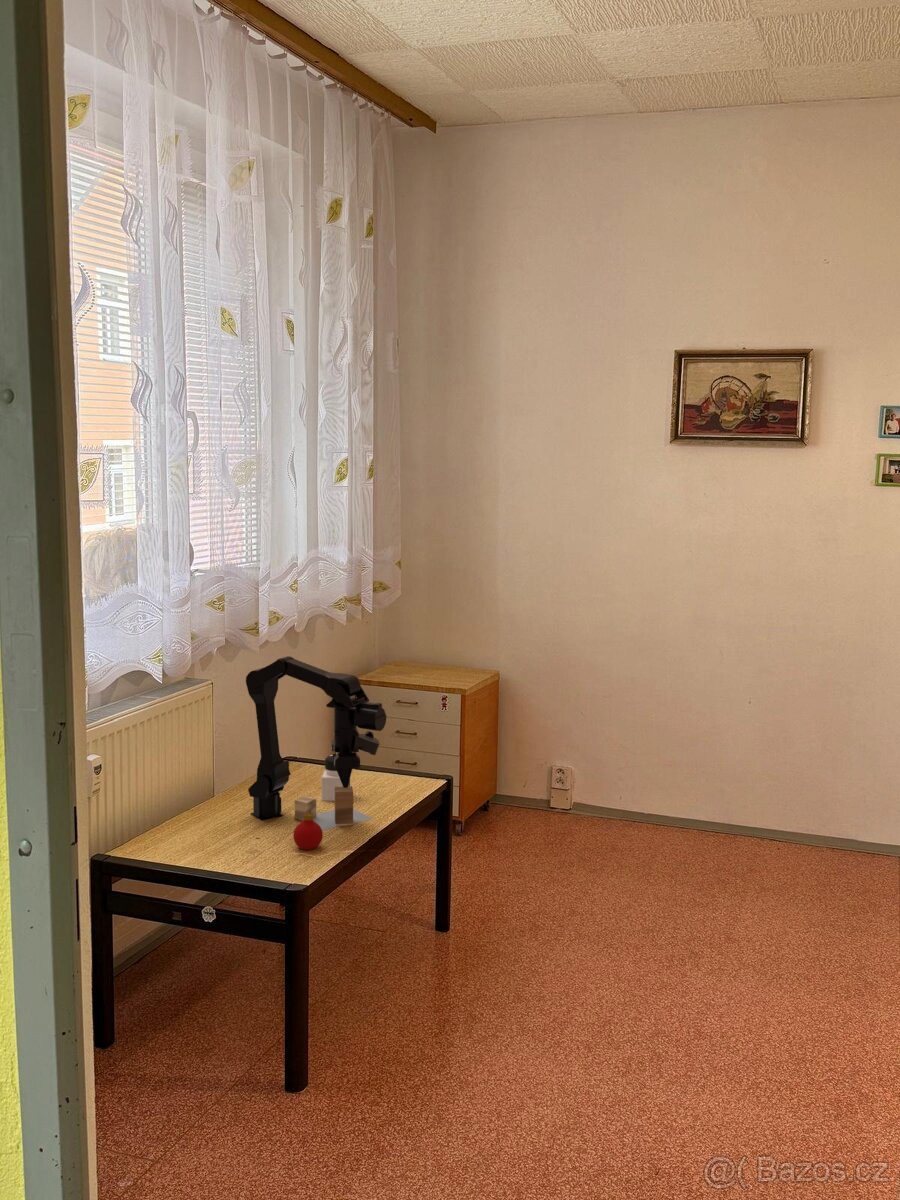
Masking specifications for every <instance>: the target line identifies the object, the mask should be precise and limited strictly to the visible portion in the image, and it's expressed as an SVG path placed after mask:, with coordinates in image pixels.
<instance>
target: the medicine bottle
mask: <svg viewBox="0 0 900 1200" xmlns="http://www.w3.org/2000/svg"><path fill="white" fill-rule="evenodd" d="M341 786H343V785H342V783H341V780H340V778H339V775H338V773H337V770H336V768H335V765H334V759H333V754H332V755H331V754H330V755H328V756H325V758H324V771H323V773H322V775H321V801H322V802H335V787H341ZM348 786H351V779H350V780H349V785H348Z"/></svg>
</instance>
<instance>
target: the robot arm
mask: <svg viewBox="0 0 900 1200" xmlns="http://www.w3.org/2000/svg"><path fill="white" fill-rule="evenodd" d="M285 676H287V677H290V678H293V679H296V680H298V681H300V682H303V683H306V684H309V685H311V686H314V687H316V688H319V689H321V690H322V691H323V692H324V693H325V694H326V695H327V696H328V697H330V698H332V699H331V700H330V701H329V702H328V703H326V707H327V708H332V709H333V739H332V741H331V742H330V745H331V751H332V752H334V753H332V755H333V759H334V765H335V768H336V770H337V773H338V775H339V778H340V780H341V783H342V785H343V788H348V785H349V780H350V781H351V775H352V772H353V769H359V768H361V759H360V755H359V754H358V753H359V752H360V751H362V752H365V753H368V754H370V755H372V756H376V755H377V753H378V749H379V746H380V745H381V744H380V741H379V740H380V739H378V738H376V737H375V735H374V732H373V731H375V732H381V731H382V730H384V728H385V725H386V724H387V723H386V722H387V714H386V711H385V709H384V708H383V703H382V702H370V699H369V698H368V696H367V694H366V692H365V691H364V689H363V688H362V686H361V682H360V680H359V678H358V677H357V676H355V675H354V674H348V673H343V672H330V671H327V670H324V669H322V668H318V667H317V666H314V665H311V664H309V663H307V662H303V661H301V660H298V659H295V658H294V657H292V656H289V655H287V656H284V657H281V658H278V659H276V660H275V661H273V662H272V663H270V664H268V665H267V666H265V667H264V666H263V667H261V668H257V669H254V670H251V671H250V672H248V674H247V675H246V677H245V684H246V688H247V692H248V695H249V697H250V698H251V700H252V701H253V702H254V706H255V713H256V714H255V715H256V723H257V732H258V741H259V752H260V760H259V762H258V766H257V768H256V780H255V782H253V784H252V785H250V786H249V787H248V789H247V790H248V794H249V796H250V797H251V798H253V800H252V801H253V803H252V804H253V808H252V809H253V812H250V815H251V816H252V817H254V818H256V819H258V820H260V821H267V820H271V819H276V818H280V817H284V814H283V813H282V797H281V792H282V791H284V788H285V785H287V784H288V782H289V779H290V776H291V775H292V774H291V771H290V762H289V760H287V759H286V760H284V759H283V757H282V756H281V753H280V745H279V735H278V726H277V724H278V723H277V717H276V708H275V707H276V706H275V699H276V696H277V692H278V691H279V690H278V689H279V680H281V679H282V678H285ZM358 728H359V729H363V730H367V731H365V732H364V733H359V731H358ZM374 737H375V738H374Z"/></svg>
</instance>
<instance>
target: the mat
mask: <svg viewBox="0 0 900 1200" xmlns="http://www.w3.org/2000/svg"><path fill="white" fill-rule="evenodd" d="M373 819H374V817H370V816H369V815H367V814H365V813H362V812H360V811H358V810H356V809H354V808H353V825H354V824H357V823H363V822H366V821H370V820H373ZM313 821H314V822H316V823H317V824H318V825H319V826H320V827H321V829H322V832H324V831H325V832H326V831H328V830H332V829H336V828H340V827H342V826H336V825H335V809H332V810H327V811H323V812H318V813H316V817H315V818H313ZM300 822H303V820H300ZM345 826H346V825H344V826H343V827H345Z"/></svg>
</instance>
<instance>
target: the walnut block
mask: <svg viewBox="0 0 900 1200" xmlns="http://www.w3.org/2000/svg"><path fill="white" fill-rule="evenodd" d="M353 809H354V790H353V786H351V785H350V786H348V788H343V786H341V787H335V801H334V810H335V825H336V826H341V827H345V826H354V824H353ZM344 825H345V826H344Z"/></svg>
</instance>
